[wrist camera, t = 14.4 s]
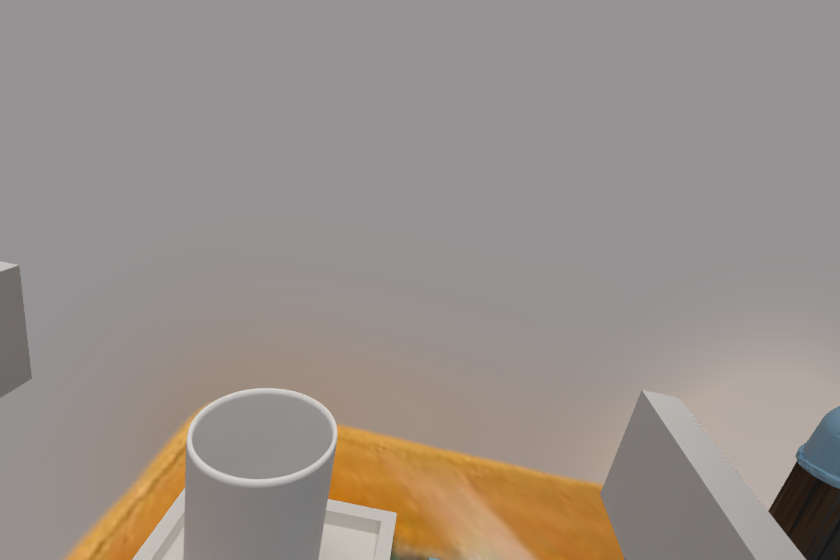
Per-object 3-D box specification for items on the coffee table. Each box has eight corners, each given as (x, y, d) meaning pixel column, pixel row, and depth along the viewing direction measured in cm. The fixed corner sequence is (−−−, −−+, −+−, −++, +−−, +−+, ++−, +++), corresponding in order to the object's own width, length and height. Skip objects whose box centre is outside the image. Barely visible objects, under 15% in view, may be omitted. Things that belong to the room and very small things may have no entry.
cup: (330, 637, 32) (364, 449, 27) (205, 721, 27) (217, 507, 22) (278, 546, 38) (298, 376, 33) (166, 601, 32) (167, 407, 27)
